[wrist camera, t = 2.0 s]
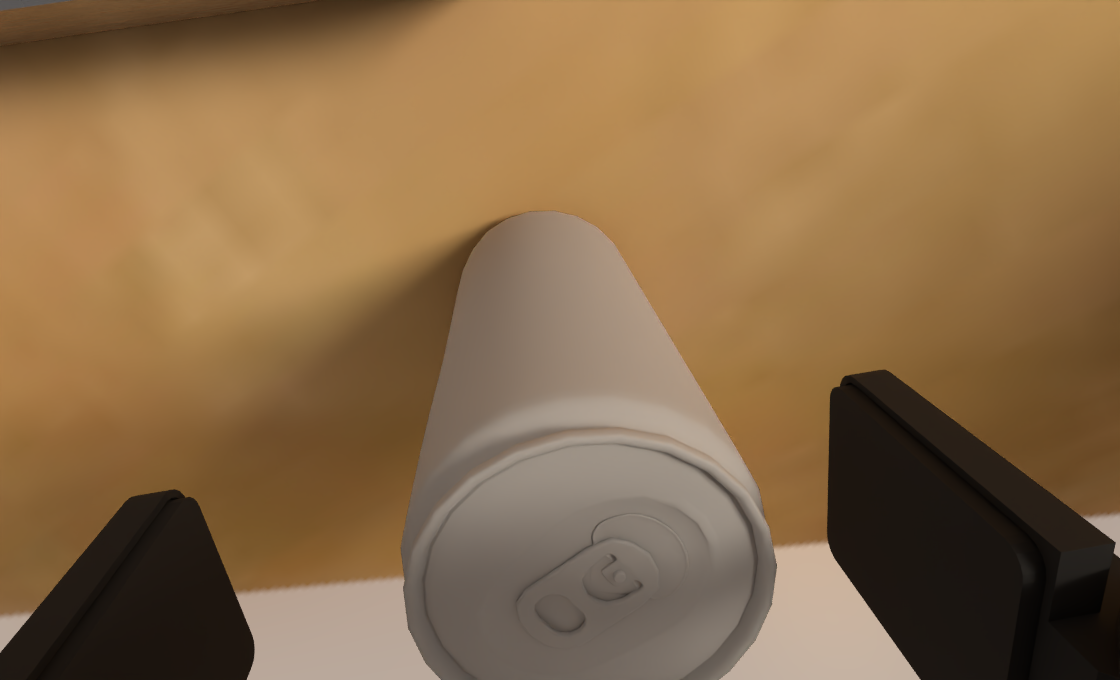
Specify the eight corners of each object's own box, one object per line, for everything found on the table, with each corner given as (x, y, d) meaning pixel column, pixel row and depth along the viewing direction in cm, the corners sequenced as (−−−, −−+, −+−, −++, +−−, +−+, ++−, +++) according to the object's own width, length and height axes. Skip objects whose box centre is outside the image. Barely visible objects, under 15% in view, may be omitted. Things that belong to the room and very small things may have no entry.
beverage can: (660, 301, 20) (858, 608, 9) (531, 397, 21) (560, 789, 9) (556, 168, 18) (637, 339, 7) (421, 280, 19) (302, 588, 8)
